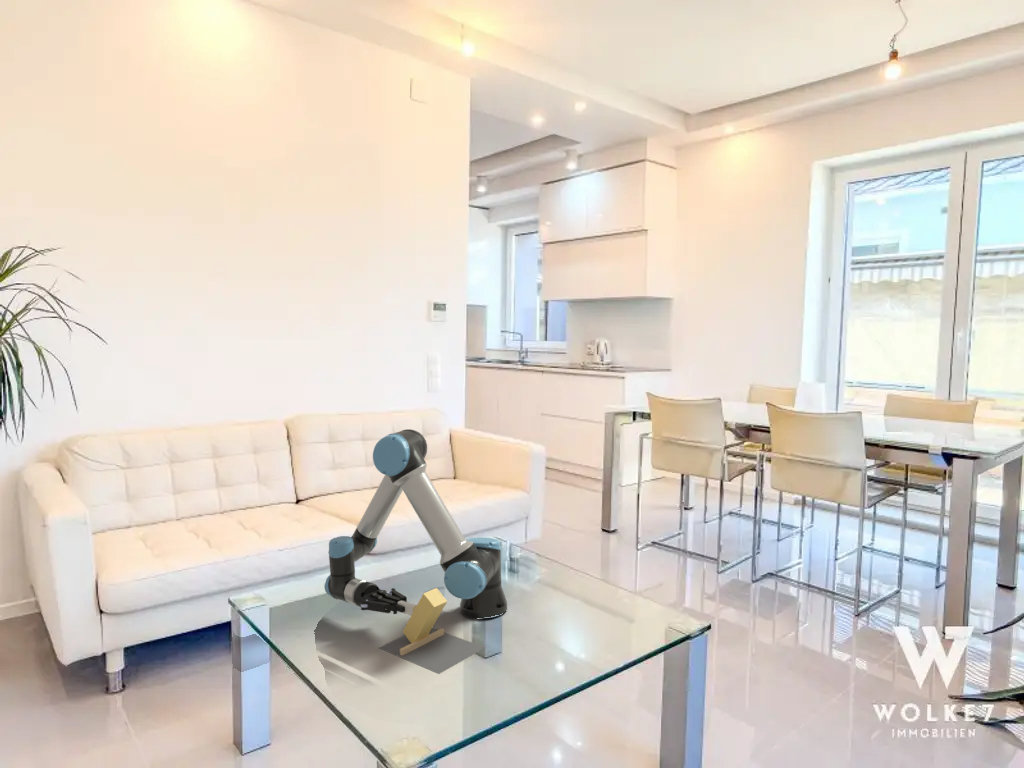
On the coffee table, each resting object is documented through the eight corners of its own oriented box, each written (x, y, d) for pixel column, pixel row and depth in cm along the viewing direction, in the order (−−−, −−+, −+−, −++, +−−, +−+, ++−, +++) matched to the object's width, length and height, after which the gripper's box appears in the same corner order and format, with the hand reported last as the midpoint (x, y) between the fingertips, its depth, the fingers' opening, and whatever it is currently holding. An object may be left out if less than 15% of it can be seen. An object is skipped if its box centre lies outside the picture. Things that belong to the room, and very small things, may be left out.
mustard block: (402, 631, 185) (423, 593, 178) (415, 625, 189) (436, 587, 182) (412, 645, 182) (434, 607, 176) (425, 638, 186) (447, 601, 180)
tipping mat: (378, 650, 182) (378, 642, 182) (425, 628, 196) (425, 620, 196) (439, 676, 167) (438, 668, 166) (485, 650, 181) (485, 642, 180)
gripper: (380, 598, 204) (432, 615, 189) (345, 613, 194) (397, 632, 179) (378, 575, 204) (430, 590, 189) (344, 588, 194) (396, 605, 179)
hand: (414, 610), depth 184 cm, fingers closed
